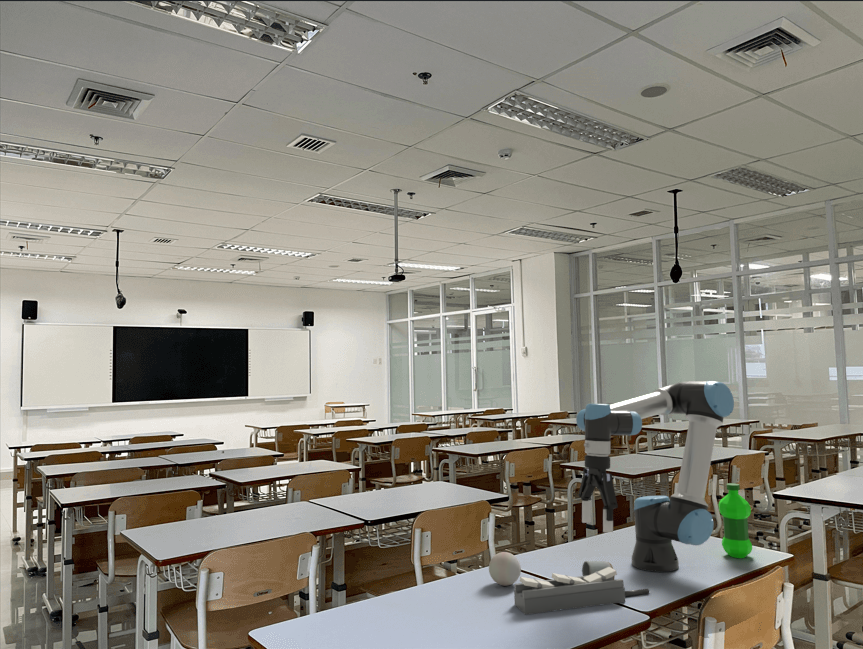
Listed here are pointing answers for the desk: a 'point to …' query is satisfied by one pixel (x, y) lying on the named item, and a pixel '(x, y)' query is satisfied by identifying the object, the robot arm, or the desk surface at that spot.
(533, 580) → the end rocker
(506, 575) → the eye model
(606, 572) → the rocker
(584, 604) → the power strip
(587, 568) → the ceramic mug
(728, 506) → the plastic bottle
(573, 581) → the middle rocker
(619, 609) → the desk surface
